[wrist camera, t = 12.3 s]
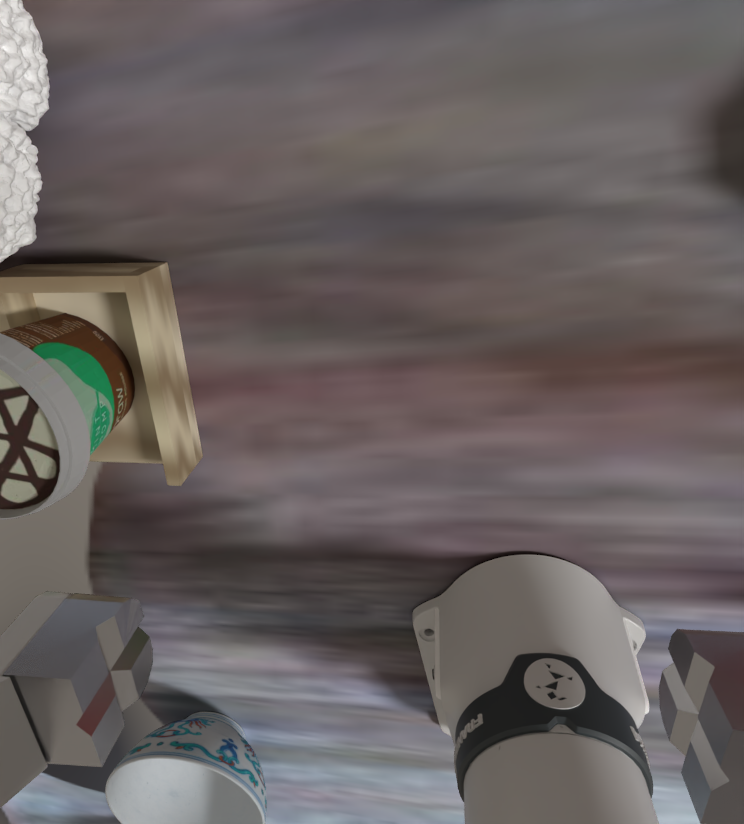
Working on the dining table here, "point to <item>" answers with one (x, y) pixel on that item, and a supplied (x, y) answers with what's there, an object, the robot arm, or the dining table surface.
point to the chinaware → (190, 776)
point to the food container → (56, 407)
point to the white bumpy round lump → (19, 124)
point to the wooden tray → (138, 339)
